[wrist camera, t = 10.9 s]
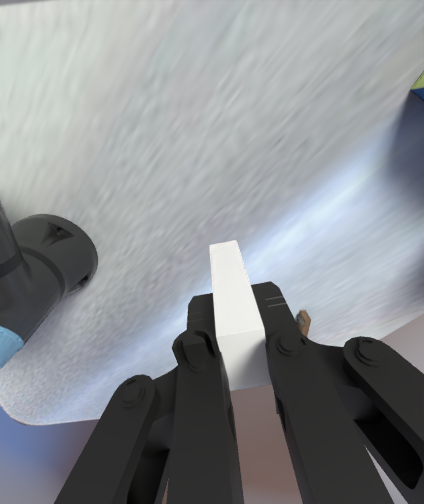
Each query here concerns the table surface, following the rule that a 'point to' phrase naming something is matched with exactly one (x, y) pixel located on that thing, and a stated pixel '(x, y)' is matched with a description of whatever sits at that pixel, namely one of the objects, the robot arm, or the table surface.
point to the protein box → (419, 87)
